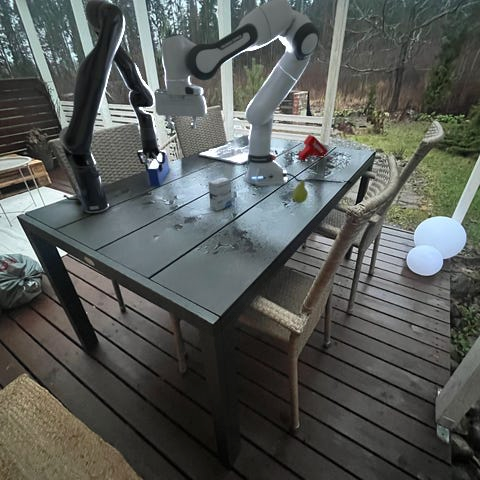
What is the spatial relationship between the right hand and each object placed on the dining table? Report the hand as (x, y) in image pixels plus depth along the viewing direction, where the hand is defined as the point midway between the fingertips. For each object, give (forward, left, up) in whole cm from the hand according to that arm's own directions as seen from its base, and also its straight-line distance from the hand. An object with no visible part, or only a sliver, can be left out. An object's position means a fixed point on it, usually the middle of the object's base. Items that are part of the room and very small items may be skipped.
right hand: (182, 128), depth 108 cm
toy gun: (-69, -63, -31) cm, 99 cm away
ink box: (-14, +8, -31) cm, 35 cm away
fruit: (-49, +3, -31) cm, 58 cm away
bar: (+22, -30, -31) cm, 48 cm away
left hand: (+21, -20, -24) cm, 38 cm away
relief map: (-16, -73, -31) cm, 81 cm away
